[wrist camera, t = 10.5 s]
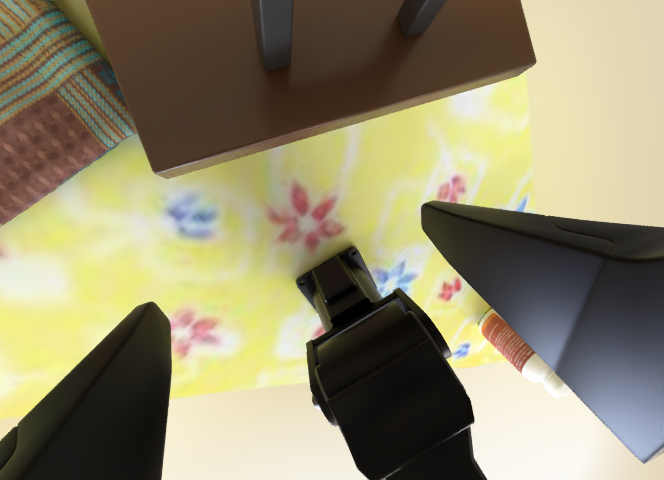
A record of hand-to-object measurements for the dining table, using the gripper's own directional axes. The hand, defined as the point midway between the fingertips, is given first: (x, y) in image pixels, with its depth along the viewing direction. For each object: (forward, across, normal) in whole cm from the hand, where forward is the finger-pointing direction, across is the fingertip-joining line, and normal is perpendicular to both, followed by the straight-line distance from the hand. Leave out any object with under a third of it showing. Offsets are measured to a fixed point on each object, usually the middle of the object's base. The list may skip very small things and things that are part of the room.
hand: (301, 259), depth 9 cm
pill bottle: (+13, -25, +31) cm, 42 cm away
